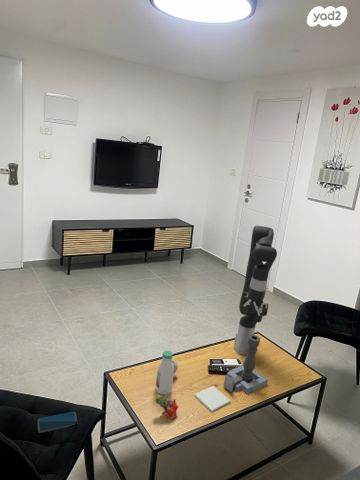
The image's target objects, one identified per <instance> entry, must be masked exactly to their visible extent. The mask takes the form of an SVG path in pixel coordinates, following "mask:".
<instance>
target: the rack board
mask: <svg viewBox="0 0 360 480" xmlns="http://www.w3.org/2000/svg"><path fill="white" fill-rule="evenodd" d="M194 397H195V398H196V400H198V401H199V402H200V403H201V404H202V405H203V406H204V407H205V408H206V409H207V410H208V411H210V412H211V413H213V412H214V411H216V410H218V409H220V408H222V407H224V406H226V405H228V404H230V403H231V400H230V398H228V397H227V396H226V395H224V394H223V392H221V391H220V390H219V389H218V388H217V387H215V386H214V385H212V386H210V387H208V388H204V389H203V390H201V391H198V392H197V393H194Z"/></svg>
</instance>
